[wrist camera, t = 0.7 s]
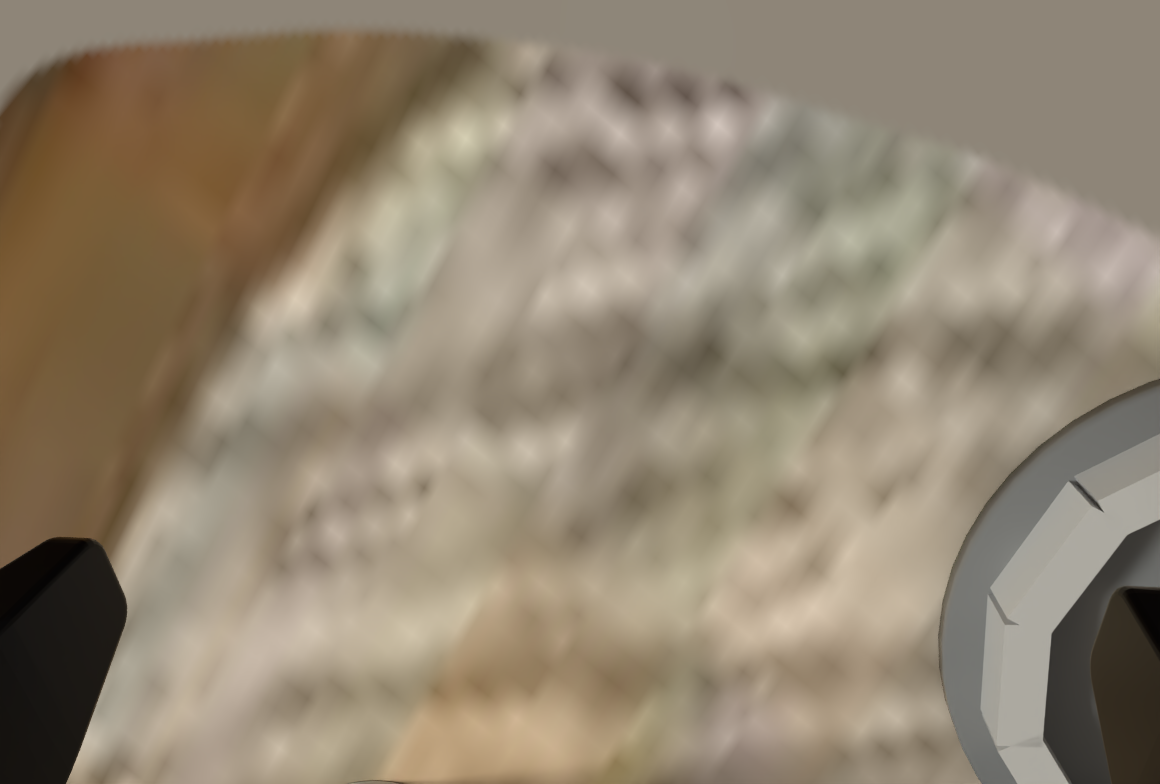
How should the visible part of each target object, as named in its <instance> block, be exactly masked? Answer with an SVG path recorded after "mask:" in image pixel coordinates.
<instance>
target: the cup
mask: <svg viewBox="0 0 1160 784" xmlns="http://www.w3.org/2000/svg"><path fill="white" fill-rule="evenodd" d="M350 784H400V783H394V782H386V781H363V782H356V783H350Z"/></svg>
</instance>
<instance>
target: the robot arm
mask: <svg viewBox="0 0 1160 784" xmlns="http://www.w3.org/2000/svg"><path fill="white" fill-rule="evenodd" d="M126 617H127V603H126V598H125V595H124V593H123V590H122V588H121V586H120V584H119V581H118V579H117V577H116V574H115V572H114V570H113V568H112V565H111V563H110V561H109V559H108V556H107V554H106V552H105V550H104V548H103V546H102V545H101V544H100V543H98V542H97V541H96V540H94V539H91V538H73V537H56V538H51V539H48V540H46V541H45V542H43V543H41V544H39V545H38V546H36V547H35V548H33V549H31V550H30V551H28V552H27V553H25V554H23V555H22V556H20V557H19V558H17V559H15V560H14V561H12V562H10V563H9V564H7V565H6V566H4V567H2V568H1V569H0V784H66V782H67V780H68V778H69V775H70V773H71V771H72V768H73V766H74V763H75V761H76V758H77V756H78V753H79V751H80V748H81V745H82V743H83V740H84V737H85V734H86V732H87V729H88V726H89V723H90V721H91V718H92V715H93V712H94V709H95V707H96V704H97V701H98V698H99V696H100V693H101V690H102V687H103V685H104V682H105V679H106V676H107V673H108V671H109V668H110V665H111V662H112V660H113V657H114V654H115V651H116V649H117V646H118V643H119V640H120V637H121V635H122V632H123V629H124V626H125V622H126ZM1090 676H1091V682H1092V687H1093V693H1094V698H1095V703H1096V708H1097V713H1098V718H1099V723H1100V728H1101V733H1102V739H1103V744H1104V749H1105V754H1106V759H1107V764H1108V769H1109V774H1110V779H1111V784H1160V587H1143V586H1122V587H1119V588H1117V589H1116V590H1115V591H1114V592H1113V594H1112V596H1111V598H1110V600H1109V603H1108V605H1107V608H1106V611H1105V614H1104V617H1103V620H1102V622H1101V625H1100V628H1099V631H1098V634H1097V637H1096V639H1095V642H1094V645H1093V648H1092V652H1091V658H1090Z"/></svg>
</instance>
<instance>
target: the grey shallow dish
mask: <svg viewBox="0 0 1160 784" xmlns="http://www.w3.org/2000/svg"><path fill="white" fill-rule="evenodd" d="M1122 586H1143V587H1160V379H1158V380H1155V381H1152V382H1149V383H1146V384H1144V385H1142V386H1140V387H1137V388H1135V389H1133V390H1130V391H1128V392H1126V393H1124V394H1121V395H1119V396H1117V397H1115V398H1112V399H1110V400H1108V401H1106V402H1105V403H1103V404H1101V405H1099V406H1098V407H1096V408H1094V409H1093V410H1091V411H1089V412H1087V413H1086V414H1084V415H1082V416H1081V417H1079V418H1077V419H1075V420H1074V421H1072V422H1071V423H1069V424H1068V425H1067V426H1065V427H1064V428H1063V429H1061V430H1060V431H1059V432H1057V433H1056V434H1055V435H1053V436H1052V437H1051V438H1049V439H1048V440H1047V441H1045V442H1044V443H1043V444H1041V445H1040V446H1039V447H1038V448H1037V449H1036V450H1035V451H1034V452H1033V453H1031V454H1030V455H1029V456H1028V457H1027V458H1026V459H1025V460H1024V461H1023V462H1022V463H1021V464H1020V465H1019V466H1018V467H1017V468H1016V469H1015V470H1014V471H1013V472H1012V473H1011V474H1010V475H1009V476H1008V477H1007V478H1006V480H1005V481H1004V482H1003V483H1002V485H1001V486H1000V487H999V488H998V490H997V491H996V492H995V493H994V494H993V496H992V497H991V498H990V499H989V501H988V502H987V503H986V504H985V506H984V508H983V509H982V511H981V513H980V514H979V516H978V517H977V519H976V521H975V522H974V524H973V526H972V527H971V529H970V530H969V532H968V534H967V535H966V537H965V540H964V542H963V544H962V546H961V549H960V551H959V553H958V556H957V558H956V560H955V562H954V565H953V567H952V570H951V573H950V577H949V580H948V584H947V587H946V591H945V595H944V598H943V602H942V610H941V618H940V626H939V634H938V641H939V669H940V675H941V680H942V686H943V691H944V697H945V701H946V704H947V707H948V710H949V713H950V716H951V718H952V721H953V724H954V727H955V730H956V733H957V735H958V738H959V741H960V743H961V746H962V748H963V750H964V752H965V754H966V756H967V758H968V760H969V762H970V764H971V766H972V768H973V769H974V771H975V773H976V775H977V777H978V779H979V780H980V781H981V783H982V784H1111V779H1110V774H1109V769H1108V764H1107V759H1106V754H1105V749H1104V744H1103V739H1102V733H1101V728H1100V723H1099V718H1098V713H1097V708H1096V703H1095V698H1094V693H1093V687H1092V682H1091V676H1090V658H1091V652H1092V648H1093V645H1094V642H1095V639H1096V637H1097V634H1098V631H1099V628H1100V625H1101V622H1102V620H1103V617H1104V614H1105V611H1106V608H1107V605H1108V603H1109V600H1110V598H1111V596H1112V594H1113V592H1114V591H1115V590H1116V589H1117V588H1119V587H1122Z"/></svg>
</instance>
